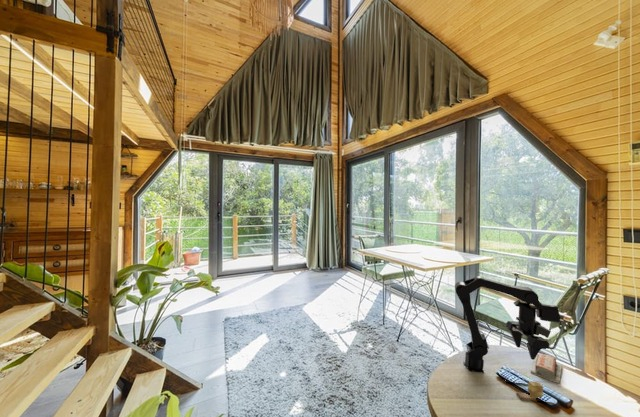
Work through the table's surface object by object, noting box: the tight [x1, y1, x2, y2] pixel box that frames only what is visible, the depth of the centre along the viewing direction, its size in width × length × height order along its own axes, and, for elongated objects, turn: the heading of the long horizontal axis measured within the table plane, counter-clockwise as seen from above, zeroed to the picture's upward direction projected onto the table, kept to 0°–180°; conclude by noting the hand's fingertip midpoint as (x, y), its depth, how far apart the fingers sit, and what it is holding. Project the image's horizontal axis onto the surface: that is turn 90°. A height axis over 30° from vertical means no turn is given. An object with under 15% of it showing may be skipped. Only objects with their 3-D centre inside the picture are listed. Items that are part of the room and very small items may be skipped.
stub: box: [515, 381, 544, 401], centre depth 103 cm, size 12×3×6 cm, turn 84°
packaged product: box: [530, 353, 563, 384], centre depth 122 cm, size 18×5×10 cm
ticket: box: [504, 372, 533, 382], centre depth 115 cm, size 12×7×1 cm, turn 84°
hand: (525, 353), depth 114 cm, fingers open, 9 cm apart
